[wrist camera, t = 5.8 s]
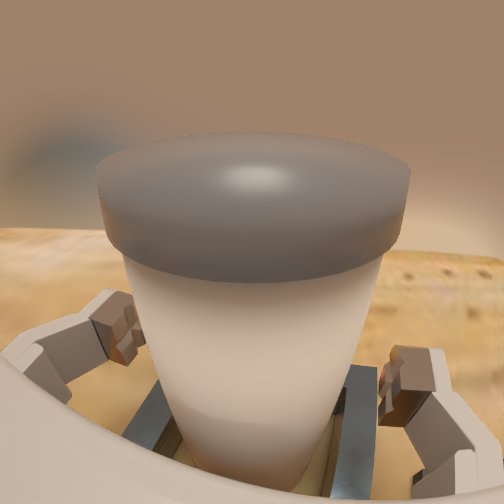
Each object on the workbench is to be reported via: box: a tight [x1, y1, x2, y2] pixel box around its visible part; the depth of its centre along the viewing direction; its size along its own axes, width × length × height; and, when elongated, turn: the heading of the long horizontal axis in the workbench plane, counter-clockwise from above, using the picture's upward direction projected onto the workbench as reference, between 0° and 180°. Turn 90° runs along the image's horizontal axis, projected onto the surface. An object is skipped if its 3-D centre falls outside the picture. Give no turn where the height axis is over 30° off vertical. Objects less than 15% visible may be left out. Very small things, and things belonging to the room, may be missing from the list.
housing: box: [121, 364, 377, 500], centre depth 11 cm, size 10×10×4 cm
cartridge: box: [95, 132, 411, 492], centre depth 8 cm, size 5×5×13 cm
